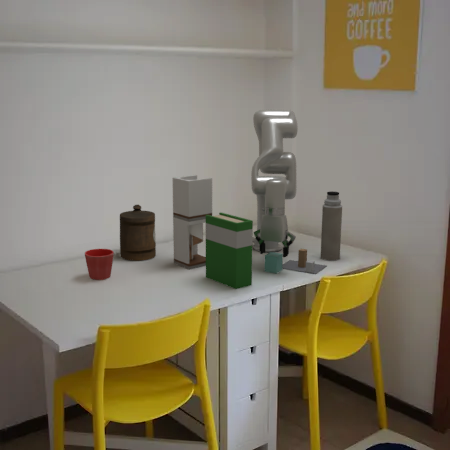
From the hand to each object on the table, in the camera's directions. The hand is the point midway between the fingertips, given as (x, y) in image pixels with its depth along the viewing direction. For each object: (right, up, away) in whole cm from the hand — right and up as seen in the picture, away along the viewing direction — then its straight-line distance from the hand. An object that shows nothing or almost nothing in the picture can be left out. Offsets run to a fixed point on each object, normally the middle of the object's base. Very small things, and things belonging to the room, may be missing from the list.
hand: (273, 255), depth 243 cm
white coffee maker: (-32, -4, +11) cm, 34 cm away
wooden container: (-55, -2, +22) cm, 60 cm away
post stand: (+12, -5, +7) cm, 15 cm away
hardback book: (-18, -9, -10) cm, 23 cm away
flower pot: (-66, -8, -6) cm, 67 cm away
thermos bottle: (+25, -2, +20) cm, 32 cm away
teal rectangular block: (0, -6, +2) cm, 7 cm away
